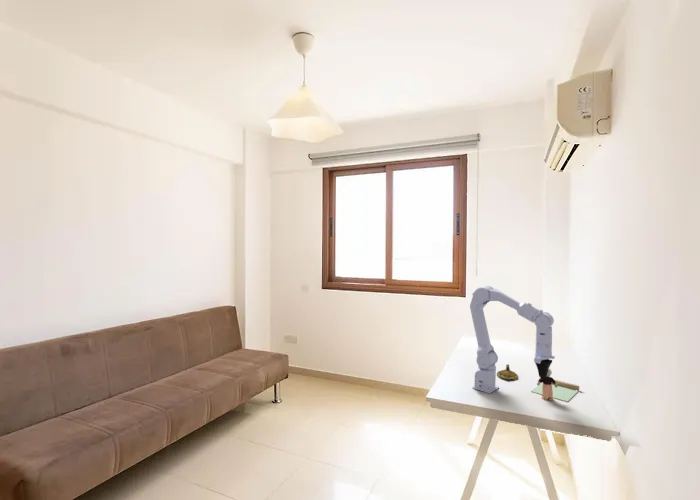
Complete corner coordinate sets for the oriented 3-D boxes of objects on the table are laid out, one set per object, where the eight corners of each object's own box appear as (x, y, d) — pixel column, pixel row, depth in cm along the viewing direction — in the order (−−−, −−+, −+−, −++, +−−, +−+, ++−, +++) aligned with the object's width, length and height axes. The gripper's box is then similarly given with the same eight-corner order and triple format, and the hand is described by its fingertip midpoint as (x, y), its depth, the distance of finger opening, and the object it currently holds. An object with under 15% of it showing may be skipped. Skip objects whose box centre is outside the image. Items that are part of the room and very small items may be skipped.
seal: (518, 385, 168) (516, 374, 182) (519, 375, 168) (518, 365, 181) (496, 380, 171) (496, 370, 185) (497, 370, 171) (498, 361, 185)
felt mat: (567, 402, 147) (567, 401, 147) (530, 391, 157) (530, 391, 157) (578, 391, 159) (578, 390, 159) (543, 382, 169) (543, 382, 169)
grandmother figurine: (552, 397, 152) (553, 366, 152) (558, 400, 148) (559, 369, 148) (534, 396, 152) (535, 366, 152) (539, 400, 148) (540, 369, 148)
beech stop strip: (578, 391, 159) (578, 386, 159) (543, 382, 169) (543, 378, 169) (579, 390, 160) (579, 385, 160) (544, 381, 170) (544, 377, 170)
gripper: (548, 349, 138) (547, 384, 138) (560, 342, 149) (559, 376, 149) (529, 345, 143) (528, 379, 143) (541, 339, 154) (540, 371, 154)
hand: (542, 377), depth 146 cm, fingers closed
